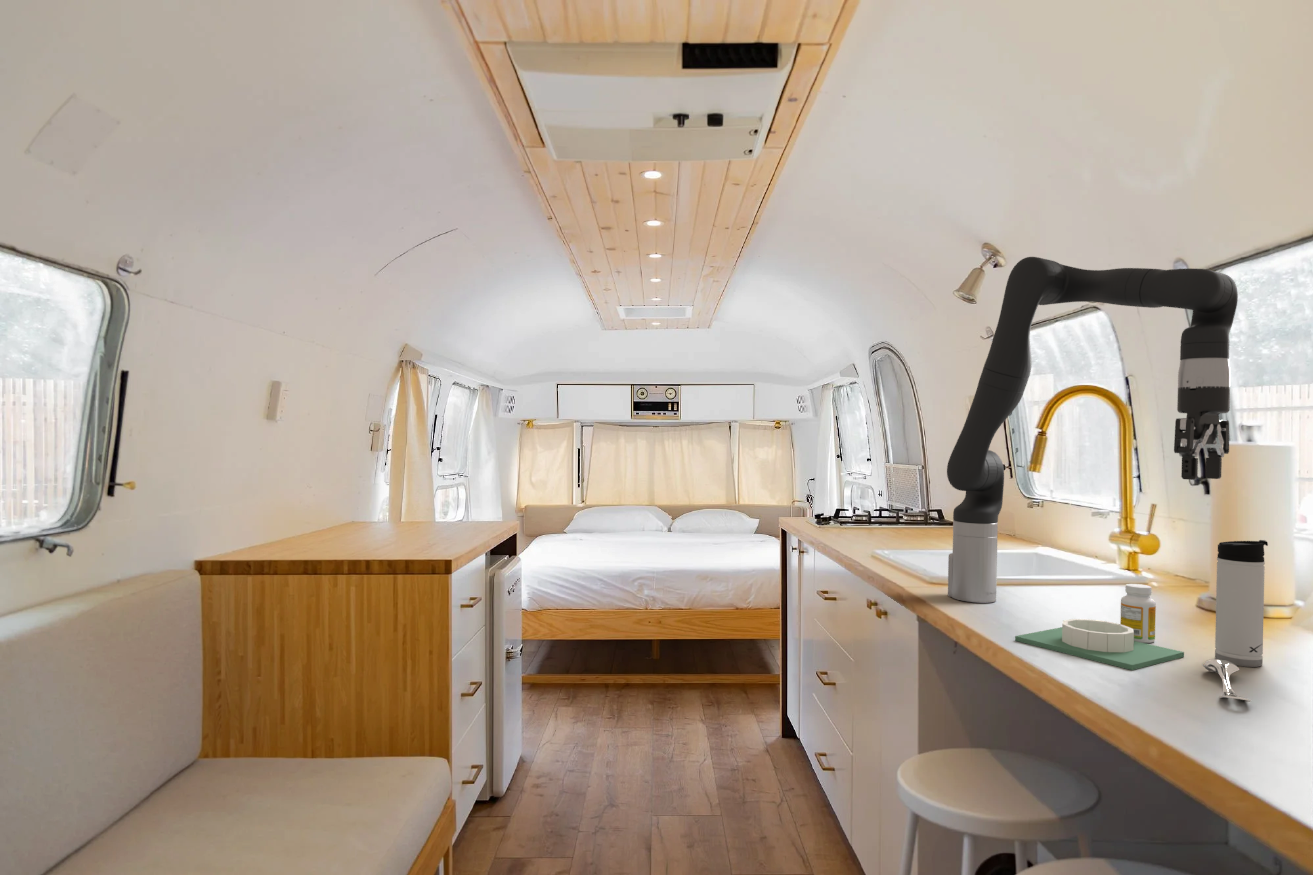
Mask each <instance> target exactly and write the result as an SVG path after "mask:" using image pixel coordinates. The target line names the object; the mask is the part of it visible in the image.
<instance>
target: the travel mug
mask: <svg viewBox="0 0 1313 875" xmlns="http://www.w3.org/2000/svg"><path fill="white" fill-rule="evenodd" d="M1265 546H1266V547H1268V546H1269V543H1268V541H1267V540H1265V539H1260V540H1233V541H1221V542H1219V543H1218V544H1217V556H1216V557H1217V558H1216V561H1217V563H1216V590H1215V592H1216V596H1215V603H1216V604H1215V634H1214V635H1215V637H1214V638H1215V640H1214V642H1215V643H1214V644H1215V645H1214V647H1215V649H1214V658H1215V659H1219V660H1225V661H1229V662H1231V663H1233V664H1235V665H1236V666H1237V667H1243V668H1244V667H1245V668H1258V667H1261V666H1263V658H1264V657H1263V654H1264V617H1265V616H1264V613H1265V612H1264V611H1265V608H1264V607H1265V606H1264V605H1265V570H1266V569H1265V564H1266V561H1265V557H1264V556H1265Z"/></svg>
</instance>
